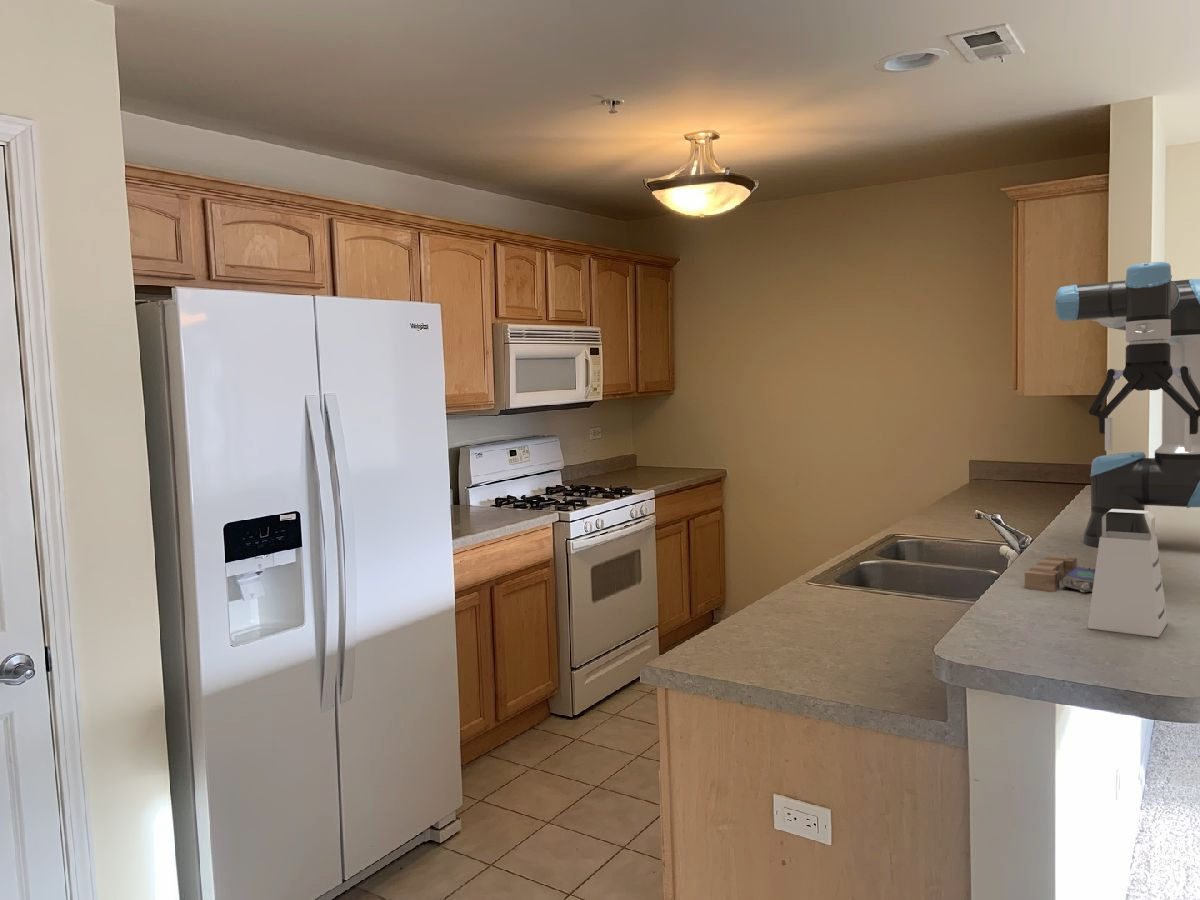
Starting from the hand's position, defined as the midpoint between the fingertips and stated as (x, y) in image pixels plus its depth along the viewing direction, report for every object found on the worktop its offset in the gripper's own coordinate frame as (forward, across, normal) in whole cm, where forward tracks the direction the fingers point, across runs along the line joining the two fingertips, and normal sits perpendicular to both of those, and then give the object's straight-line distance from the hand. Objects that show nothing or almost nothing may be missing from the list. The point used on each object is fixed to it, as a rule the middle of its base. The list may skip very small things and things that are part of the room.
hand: (1147, 451), depth 176 cm
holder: (+28, -10, 0) cm, 30 cm away
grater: (+28, +3, -29) cm, 41 cm away
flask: (+29, -10, 0) cm, 31 cm away
